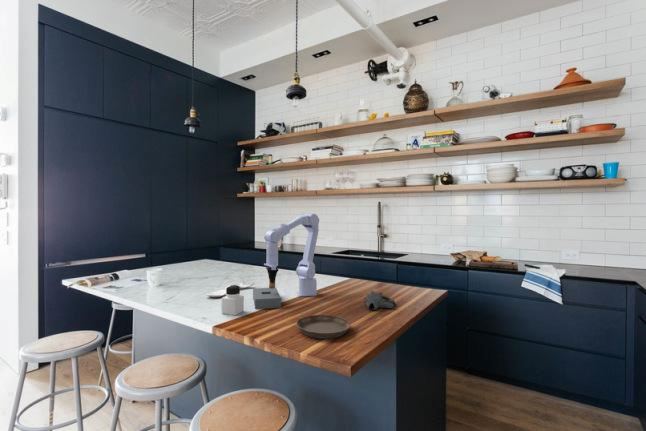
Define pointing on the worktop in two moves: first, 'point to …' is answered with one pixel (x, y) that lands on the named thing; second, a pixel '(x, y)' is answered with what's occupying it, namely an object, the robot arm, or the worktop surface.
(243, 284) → the spoon
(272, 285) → the peg
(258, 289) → the hole block
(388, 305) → the grey tapered shape
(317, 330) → the plant saucer
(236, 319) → the worktop surface
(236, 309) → the medicine bottle
